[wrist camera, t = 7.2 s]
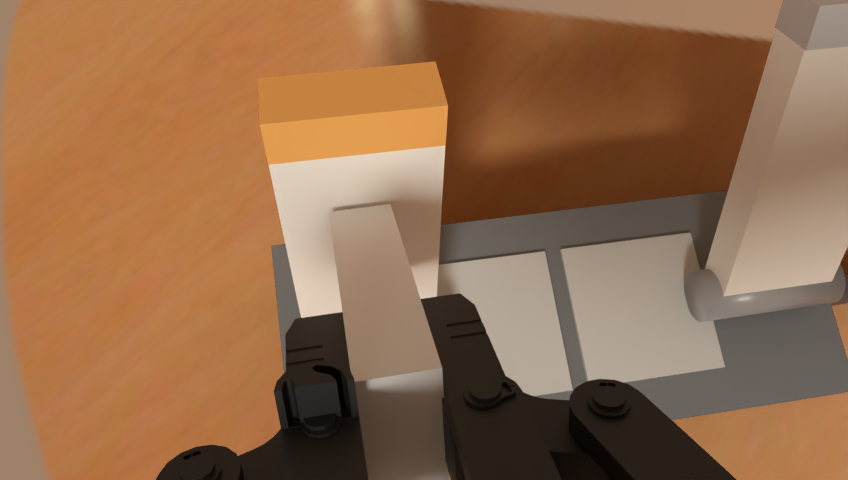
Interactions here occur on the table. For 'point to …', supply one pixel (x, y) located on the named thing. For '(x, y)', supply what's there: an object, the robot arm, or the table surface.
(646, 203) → the power strip
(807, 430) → the table surface
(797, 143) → the grey-capped paddle
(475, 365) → the robot arm
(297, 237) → the orange-capped paddle
